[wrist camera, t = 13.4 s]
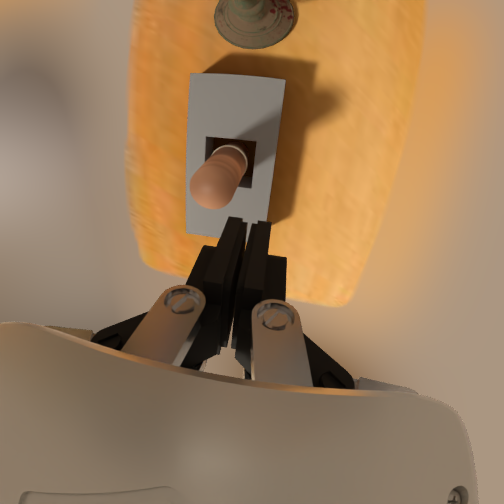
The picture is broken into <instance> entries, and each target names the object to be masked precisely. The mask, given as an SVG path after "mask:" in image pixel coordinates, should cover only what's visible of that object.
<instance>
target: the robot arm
mask: <svg viewBox="0 0 504 504" xmlns="http://www.w3.org/2000/svg"><path fill="white" fill-rule="evenodd" d="M271 223H272V222H266V221H260V220H258V222H257V224H255V223H252V225H251V229H250V233H249V237H248V241H247V245H246V235H247V226H248V222H243V218H239V217H231V216H229V217H228V219H227V222H226V224H225V227H224V229H223V232H222V234H221V237H220V239H219V242H218V244H217V247H213V246H207V245H204V246H203V247H202V249H201V252H200V254H199V256H198V258H197V260H196V262H195V265H194V267H193V269H192V271H191V273H190V276H189V278H188V280H187V282H186V285H178V286H174V287H171V288H169V289H167V290H165V291H164V293H162V294H161V296H160V297H159V298H158V300H157V301H156V302H155V304H154V305H153V307H152V308H151V309H150V311H148V312H146V313H143V314H141V315H138V316H136V317H133V318H130V319H128V320H125V321H123V322H120V323H118V324H115V325H112V326H110V327H107V328H105V329H102V330H100V331H99V332H97V333H96V334H95V333H93V331H92V330H86V329H76V328H65V327H58V326H41V325H37V324H32V323H26V322H3V323H0V504H478V488H477V477H476V470H475V463H474V458H473V452H472V448H471V444H470V440H469V437H468V433H467V430H466V428H465V425H464V423H463V421H462V419H461V417H460V415H459V414H458V412H457V411H456V410H454V409H453V408H452V407H451V406H449V405H447V404H445V403H443V402H441V401H439V400H436V399H433V398H431V397H428V396H423V395H419V394H418V393H417V392H415V391H414V390H412V389H410V388H407V387H402V386H397V385H393V384H387V383H384V382H379V381H375V380H371V379H367V378H363V377H360V378H359V379H358V380H357V379H353V378H352V376H351V375H350V374H349V373H348V372H347V371H346V370H345V369H344V368H343V367H341V366H340V365H339V364H338V363H337V362H336V361H335V360H333V359H332V358H331V357H330V356H329V355H328V354H326V353H325V352H324V351H323V350H322V349H321V348H320V347H318V346H317V345H316V344H315V343H314V342H313V341H311V340H310V339H309V338H308V337H307V336H306V335H305V334H304V333H303V331H302V326H301V321H300V317H299V314H298V312H297V310H296V309H295V308H294V307H293V306H291V305H290V304H289V303H287V302H285V297H286V268H287V258H286V257H280V256H274V255H268V248H269V240H270V231H271ZM245 245H246V249H245ZM233 317H234V321H233ZM232 322H233V332H232V344H231V348H233V349H236V352H235V358H236V360H238V362H239V363H240V364H241V365H242V366H243V367H244V369H243V379H240V378H234V377H229V376H223V375H217V374H212V373H207V372H203V371H204V369H205V367H206V363H207V359H208V358H210V357H212V356H214V355H216V354H218V355H219V354H220V350H221V347H227V344H228V340H229V335H230V331H231V326H232Z"/></svg>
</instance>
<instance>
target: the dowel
mask: <svg viewBox="0 0 504 504" xmlns="http://www.w3.org/2000/svg"><path fill="white" fill-rule="evenodd" d="M248 156H249V152H248V149H247V147H246V146H245V145H244V144H243V143H241V142H239V141H231V142H228V143H227V144H225V145H223V146H220V147H219V148H217V149H216V150H215V151H214V152H213V153H212V155H211V156H210V157H209V158H208V159H207V161H206V162H205V163H204V164H203V165H202V166H201V167H200V168H199V169H198V170H197V171H196V172H195V173H194V175H193V176H192V178H191V180H190V192H191V195H192V197H193V199H194V200H195V201H196V202H197V203H198V204H199V205H201V206H202V207H205V208H208V209H220V208H223V207H225V206H226V205H227V204H229V203H230V201H231V200H232V198H233V196H234V194H235V191H236V189H237V187H238V185H239V183H240V180H241V178H242V176H243V175H244V174H245V172H246V169H247V165H248V161H247V159H248Z"/></svg>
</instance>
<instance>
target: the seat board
mask: <svg viewBox="0 0 504 504" xmlns="http://www.w3.org/2000/svg"><path fill="white" fill-rule="evenodd" d="M285 83H286V80H284V79H276V78H268V77H258V76H247V75H234V74H212V73H190V86H189V102H188V121H187V148H186V233H189V234H196V235H203V236H210V237H217V238H220V237H221V234H222V232H223V229H224V227H225V224H226V222H227V219H228V217H229V216H231V217H239V218H243V222H248V226H247V235H246V242H247V241H248V237H249V233H250V229H251V225H252V223H255V224H257V222H258V220H260V221H267V214H268V207H269V200H270V193H271V186H272V179H273V172H274V165H275V157H276V150H277V143H278V135H279V128H280V121H281V113H282V106H283V98H284V91H285ZM214 137H219V138H230V139H240V140H249V141H257V143H256V152H255V161H254V170H253V177H248V176H242V178H241V180H240V183H239V185H238V187H237V189H236V191H235V194H234V196H233V198H232V200H231V201H230V203H229V204H227V205H226V206H225V207H223V208H220V209H208V208H205V207H202V206H201V205H199V204H198V203H197V202H196V201H195V200H194V199H193V197H192V195H191V192H190V180H191V178H192V176H193V175H194V173H195V172H196V171H197V170H198V169H199V168H200V167H201V166H202V165H203V164H204V163H205V162H206V161H207V159H208V158H209V157H210V156H211V155H212V153H213V145H214Z"/></svg>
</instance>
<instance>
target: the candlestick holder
mask: <svg viewBox="0 0 504 504" xmlns="http://www.w3.org/2000/svg"><path fill="white" fill-rule="evenodd" d="M214 20H215V26H216V28H217V30H218V32H219V34H220V35H221V36H222V37H223V38H224V39H225V40H226V41H228V42H229V43H231V44H233V45H235V46H238V47H241V48H246V49H261V48H266V47H269V46H272V45H274V44H276V43H277V42H279V41H281V40H282V39H283V38H284V37H285V36H286V35H287V34H288V33H289V31H290V29H291V27H292V26H293V21H294V11H293V7H292V5H291V3H290V1H289V0H220V1H219V3H218V4H217V6H216V9H215V14H214Z"/></svg>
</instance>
